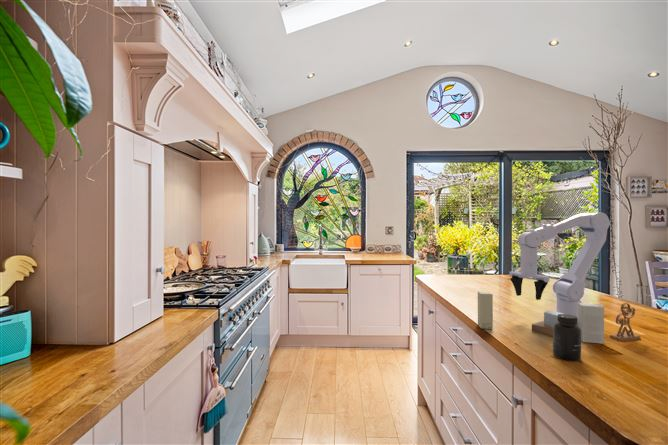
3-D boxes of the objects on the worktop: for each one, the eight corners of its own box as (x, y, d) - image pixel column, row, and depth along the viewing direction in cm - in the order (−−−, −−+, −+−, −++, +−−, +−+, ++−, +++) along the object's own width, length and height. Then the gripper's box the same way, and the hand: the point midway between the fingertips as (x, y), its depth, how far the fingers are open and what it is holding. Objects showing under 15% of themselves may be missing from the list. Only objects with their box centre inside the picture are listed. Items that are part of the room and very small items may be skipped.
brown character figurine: (621, 341, 110) (622, 305, 110) (609, 337, 114) (609, 302, 114) (641, 339, 113) (641, 303, 112) (628, 335, 116) (628, 300, 116)
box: (493, 329, 121) (493, 294, 121) (480, 328, 122) (480, 293, 122) (489, 325, 127) (489, 291, 126) (477, 324, 127) (477, 290, 127)
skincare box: (598, 339, 112) (599, 304, 112) (604, 344, 108) (604, 307, 107) (577, 337, 114) (577, 302, 113) (582, 342, 110) (582, 305, 109)
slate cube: (551, 322, 121) (551, 310, 121) (564, 326, 117) (564, 313, 117) (543, 324, 119) (544, 312, 119) (557, 328, 115) (557, 315, 115)
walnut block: (546, 327, 126) (546, 319, 125) (576, 335, 117) (576, 327, 117) (531, 332, 120) (531, 323, 120) (561, 341, 112) (562, 332, 112)
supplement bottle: (582, 363, 93) (583, 321, 93) (553, 358, 97) (553, 317, 97) (580, 355, 99) (580, 314, 99) (552, 350, 103) (553, 311, 102)
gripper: (505, 261, 135) (504, 294, 136) (542, 265, 123) (541, 302, 123) (515, 260, 139) (514, 292, 139) (552, 264, 126) (552, 300, 127)
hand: (528, 297), depth 131 cm, fingers open, 7 cm apart
